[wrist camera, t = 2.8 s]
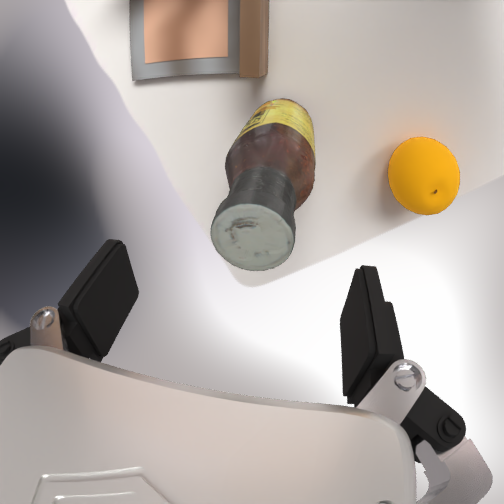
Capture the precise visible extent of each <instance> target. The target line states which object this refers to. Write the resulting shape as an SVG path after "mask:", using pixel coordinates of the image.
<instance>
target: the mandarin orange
mask: <svg viewBox="0 0 504 504" xmlns="http://www.w3.org/2000/svg"><path fill="white" fill-rule="evenodd" d="M388 178H389V186H390V188H391V190H392V192H393V195H394V197H395V198H396V200H397V201H398V202H399V203H400V204H401V205H402V206H404V207H405V208H406V209H408V210H410V211H412V212H414V213H416V214H422V215H432V214H438V213H440V212H441V211H443V210H445V209H446V208H447V207H448V206H449V205H450V204H451V203H452V202H453V200H454V199H455V197H456V195H457V193H458V189H459V185H460V171H459V167H458V164H457V161H456V159H455V157H454V156H453V154H452V153H451V152H450V151H449V149H448V148H447V147H446V146H444V145H443V144H441V143H440V142H438V141H436V140H435V139H431V138H426V137H416V138H410V139H408V140H407V141H405V142H403V143H401V144H400V145H399V146H398V148H397V149H396V150H395V151H394V153H393V155H392V157H391V159H390V161H389V167H388Z"/></svg>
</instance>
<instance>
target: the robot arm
mask: <svg viewBox="0 0 504 504" xmlns="http://www.w3.org/2000/svg"><path fill="white" fill-rule="evenodd" d="M138 294H139V291H138V287H137V284H136V281H135V277H134V274H133V270H132V267H131V264H130V260H129V256H128V253H127V250H126V246H125V245H124V244H123V243H122V241H120V240H113V239H109V240H107V241H106V242H105V243H104V245H103V246H102V247H101V248H100V249H99V251H98V252H97V253H96V254H95V256H94V257H93V258H92V259H91V260H90V262H89V263H88V264H87V266H86V267H85V268H84V270H83V271H82V272H81V273H80V275H79V276H78V277H77V278H76V280H75V281H74V283H73V284H72V285H71V286H70V288H69V289H68V290H67V292H66V293H65V295H64V296H63V297H62V299H61V300H60V301H59V303H58V305H59V308H58V310H57V309H56V308H54V307H48V306H47V307H43V308H41V309H40V310H38V311H37V312H36V313H35V314H34V315H33V316H32V318H31V321H30V327H29V328H26V329H24V330H21V331H19V332H17V333H15V334H12V335H10V336H8V337H6V338H4V339H2V340H1V341H0V504H477V503H478V502H479V500H480V499H481V498H483V497H484V496H485V495H486V493H487V492H488V491H489V489H490V488H491V485H492V474H491V471H490V469H489V468H488V466H487V464H486V463H485V461H484V460H483V458H482V456H481V455H480V453H479V451H478V450H477V448H476V447H475V445H474V444H473V442H472V440H471V439H469V440H467V439H466V437H465V432H466V426H465V422H464V420H463V418H462V417H461V416H460V415H459V414H458V413H457V412H456V411H455V410H453V409H452V408H451V407H450V406H449V405H447V404H446V403H445V402H444V401H442V400H441V399H440V398H439V397H438V396H436V395H435V394H434V393H433V392H432V391H430V390H429V389H428V388H427V387H425V384H426V376H425V373H424V371H423V369H422V368H421V367H420V366H419V365H418V364H417V363H415V362H413V361H411V360H407V359H404V355H403V350H402V345H401V340H400V335H399V331H398V326H397V321H396V317H395V313H394V309H393V305H392V303H391V302H385V300H384V296H383V292H382V288H381V284H380V279H379V275H378V272H377V268H376V267H374V266H364V265H362V266H361V267H360V269H356V270H355V272H354V276H353V279H352V283H351V286H350V289H349V292H348V296H347V299H346V302H345V305H344V308H343V311H342V314H341V318H340V332H341V349H342V350H341V351H342V376H343V377H342V378H343V396H347V403H348V404H354V407H348V406H340V405H330V404H320V403H308V402H297V401H288V400H279V399H270V398H262V397H254V396H247V395H240V394H234V393H227V392H222V391H216V390H210V389H204V388H200V387H195V386H189V385H185V384H180V383H176V382H171V381H167V380H163V379H159V378H154V377H151V376H147V375H143V374H139V373H135V372H132V371H128V370H124V369H121V368H117V367H114V366H110V365H107V364H104V363H101V361H102V359H103V357H105V356H106V355H107V354H108V352H109V350H110V348H111V346H112V344H113V343H114V341H115V338H116V337H117V335H118V333H119V331H120V329H121V327H122V325H123V324H124V322H125V320H126V318H127V316H128V314H129V313H130V311H131V309H132V307H133V305H134V303H135V302H136V300H137V298H138ZM89 358H90V359H89ZM91 359H92V360H91ZM415 461H416V462H418V463H422V465H423V467H424V468H425V470H426V471H424V473H425V475H426V476H427V478H428V481H429V489H428V491H427V493H426V494H425V495H424V496H423V497H422V498H421V499H420V500H419V501H417V502H416V470H415ZM378 502H380V503H378Z"/></svg>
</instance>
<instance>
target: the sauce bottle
mask: <svg viewBox="0 0 504 504" xmlns="http://www.w3.org/2000/svg"><path fill="white" fill-rule="evenodd" d="M225 169H226V175H227V179H228V183H229V188H230V191H229V195H228V197H227V198H226V199H225V200H224V201H223V202H222V203H221V204H220V206H219V208H218V209H217V211H216V215H215V217H214V219H213V222H212V225H211V239H212V242H213V244H214V246H215V248H216V250H217V252H218V253H219V254H220V255H221V256H222V257H223V258H224V259H225V260H227V261H228V262H229V263H231V264H232V265H234V266H236V267H239V268H241V269H245V270H250V271H264V270H268V269H273V268H275V267H276V266H279V265H281V264H282V263H283V262H284V261H285V260H286V259H288V257H289V256H290V254H291V252H292V250H293V247H294V242H295V229H296V226H295V221H294V216H293V213H294V211H295V210H296V209H297V208H299V207H300V206H301V205H302V204H303V203H304V202H305V201H306V199H307V198H308V196H309V195H310V193H311V191H312V189H313V183H314V181H315V180H314V176H315V175H314V174H315V173H314V171H315V145H314V131H313V124H312V120H311V118H310V116H309V115H308V112H307V111H306V110H305V109H304V108H303V107H302V106H300V105H299V104H298V103H296V102H294V101H292V100H289V99H276V100H273V101H268V102H266V103H265V104H263V105H262V106H260V107H259V108H258V109H257V110H256V111H255V113H254V114H253V116H252V117H251V118H250V120H249V121H248V123H247V124H246V125H245V127H244V128H243V129H242V131H241V133H240V134H239V136H238V137H237V139H236V140H235V142H234V143H233V145H232V147H231V148H230V150H229V152H228V154H227V157H226V163H225Z"/></svg>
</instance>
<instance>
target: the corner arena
mask: <svg viewBox="0 0 504 504" xmlns="http://www.w3.org/2000/svg"><path fill="white" fill-rule="evenodd" d="M268 30H269V0H130V47H131V66H132V81H135V80H142V79H150V78H159V77H169V76H181V75H196V74H223V73H240V77H251V78H260V77H262V76H264V75H266V74H267V72H268Z"/></svg>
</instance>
